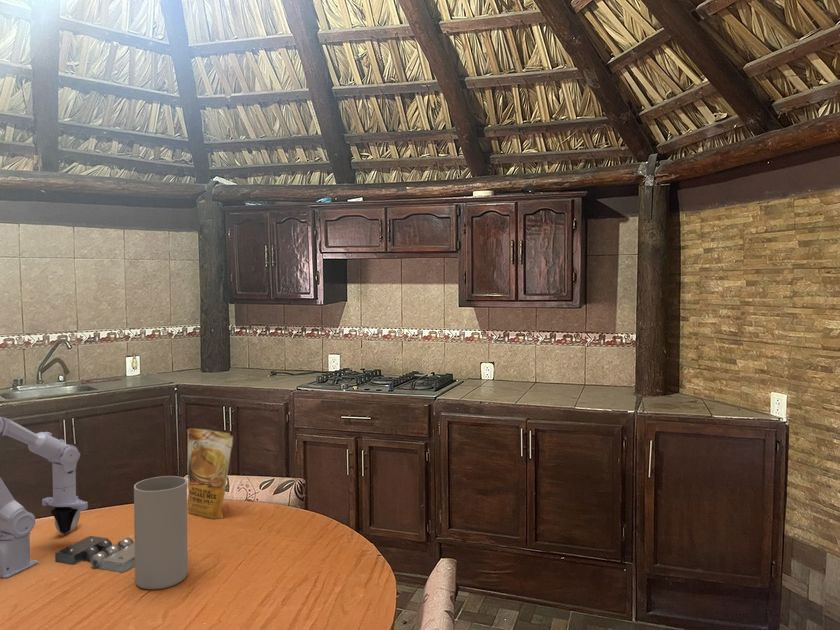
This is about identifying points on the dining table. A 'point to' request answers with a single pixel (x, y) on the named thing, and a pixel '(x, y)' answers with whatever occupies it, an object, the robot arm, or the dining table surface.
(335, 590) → the dining table surface
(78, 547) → the gunmetal leaf
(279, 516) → the dining table surface
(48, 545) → the dining table surface
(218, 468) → the pancake mix bag
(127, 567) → the steel leaf
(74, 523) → the donut
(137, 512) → the cylinder vase
